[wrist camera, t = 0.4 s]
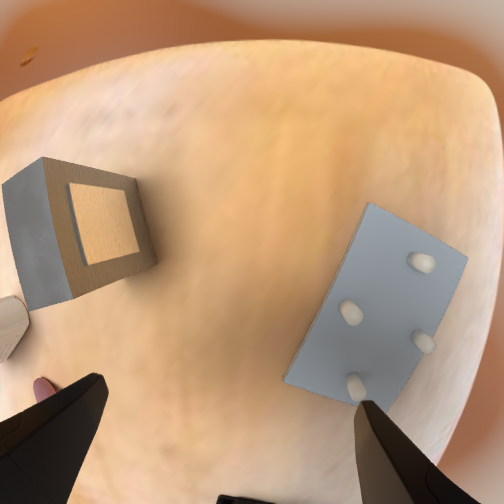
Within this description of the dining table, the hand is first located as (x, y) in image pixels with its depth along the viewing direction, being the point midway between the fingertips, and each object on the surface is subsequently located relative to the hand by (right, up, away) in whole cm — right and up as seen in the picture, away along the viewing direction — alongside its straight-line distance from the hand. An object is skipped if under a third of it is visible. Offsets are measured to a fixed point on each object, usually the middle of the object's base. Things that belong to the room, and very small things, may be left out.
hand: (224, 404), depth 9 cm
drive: (-9, +7, +14) cm, 18 cm away
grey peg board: (+11, 0, +13) cm, 17 cm away
